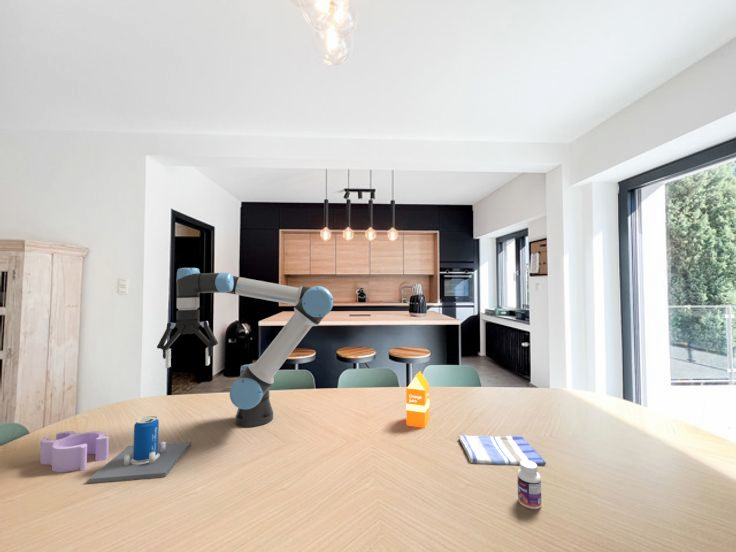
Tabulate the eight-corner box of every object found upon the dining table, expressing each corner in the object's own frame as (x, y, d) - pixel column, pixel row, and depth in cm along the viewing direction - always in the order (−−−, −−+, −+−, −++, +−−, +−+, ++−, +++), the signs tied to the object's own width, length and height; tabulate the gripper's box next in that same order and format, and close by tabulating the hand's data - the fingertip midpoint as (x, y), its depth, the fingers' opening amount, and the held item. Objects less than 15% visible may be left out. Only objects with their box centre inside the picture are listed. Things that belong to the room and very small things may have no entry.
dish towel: (457, 440, 120) (457, 432, 120) (524, 442, 118) (523, 434, 118) (468, 465, 102) (468, 456, 103) (546, 468, 101) (546, 458, 101)
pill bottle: (513, 496, 86) (512, 458, 86) (533, 495, 86) (532, 457, 87) (525, 510, 81) (524, 470, 81) (546, 509, 81) (545, 469, 81)
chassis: (190, 445, 115) (191, 432, 116) (165, 476, 96) (165, 462, 96) (128, 449, 112) (128, 437, 112) (88, 483, 92) (88, 468, 93)
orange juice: (406, 425, 132) (405, 374, 133) (411, 417, 140) (411, 369, 141) (425, 428, 129) (424, 376, 130) (430, 419, 137) (429, 371, 138)
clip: (26, 466, 102) (27, 443, 102) (71, 448, 114) (72, 427, 114) (74, 475, 97) (75, 451, 97) (116, 455, 109) (116, 433, 109)
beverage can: (145, 464, 100) (146, 424, 101) (127, 461, 102) (129, 422, 102) (162, 453, 107) (163, 416, 107) (146, 451, 108) (147, 414, 108)
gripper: (225, 307, 130) (226, 361, 129) (155, 309, 125) (155, 366, 124) (221, 308, 122) (221, 365, 121) (146, 310, 117) (146, 370, 116)
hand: (188, 366), depth 123 cm, fingers open, 13 cm apart
